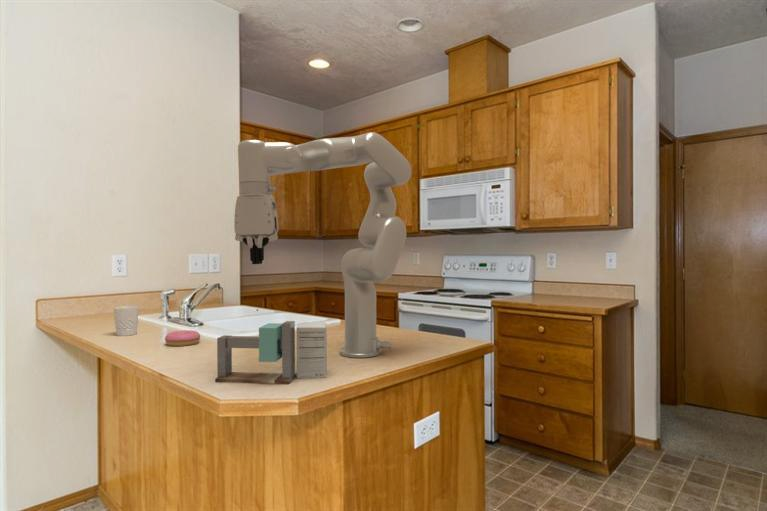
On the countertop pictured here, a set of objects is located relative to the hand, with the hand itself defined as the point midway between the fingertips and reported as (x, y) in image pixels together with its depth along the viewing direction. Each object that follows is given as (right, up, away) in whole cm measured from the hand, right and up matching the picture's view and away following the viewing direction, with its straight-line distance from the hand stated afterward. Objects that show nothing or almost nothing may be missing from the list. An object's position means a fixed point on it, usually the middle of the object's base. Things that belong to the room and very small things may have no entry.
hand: (257, 263), depth 119 cm
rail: (+1, -28, -5) cm, 28 cm away
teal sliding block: (+5, -20, -6) cm, 21 cm away
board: (+1, -28, -5) cm, 28 cm away
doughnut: (-35, -28, +37) cm, 58 cm away
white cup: (-62, -27, +54) cm, 87 cm away
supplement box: (+14, -28, 0) cm, 31 cm away
